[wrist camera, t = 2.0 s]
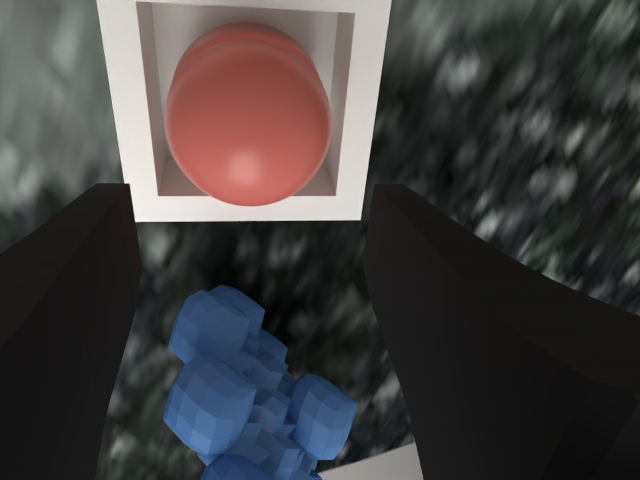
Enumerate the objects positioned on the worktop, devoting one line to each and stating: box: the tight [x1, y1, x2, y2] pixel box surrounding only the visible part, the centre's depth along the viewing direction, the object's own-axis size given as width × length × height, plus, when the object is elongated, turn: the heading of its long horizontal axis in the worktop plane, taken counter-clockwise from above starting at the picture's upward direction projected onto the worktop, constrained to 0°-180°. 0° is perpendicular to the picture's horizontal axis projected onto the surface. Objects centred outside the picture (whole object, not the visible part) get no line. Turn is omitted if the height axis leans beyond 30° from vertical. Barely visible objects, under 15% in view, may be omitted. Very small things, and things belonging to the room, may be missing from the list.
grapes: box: [163, 285, 357, 480], centre depth 21 cm, size 12×7×12 cm, turn 19°
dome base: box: [97, 0, 392, 222], centre depth 17 cm, size 8×8×3 cm
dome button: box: [165, 22, 332, 207], centre depth 15 cm, size 5×5×5 cm
